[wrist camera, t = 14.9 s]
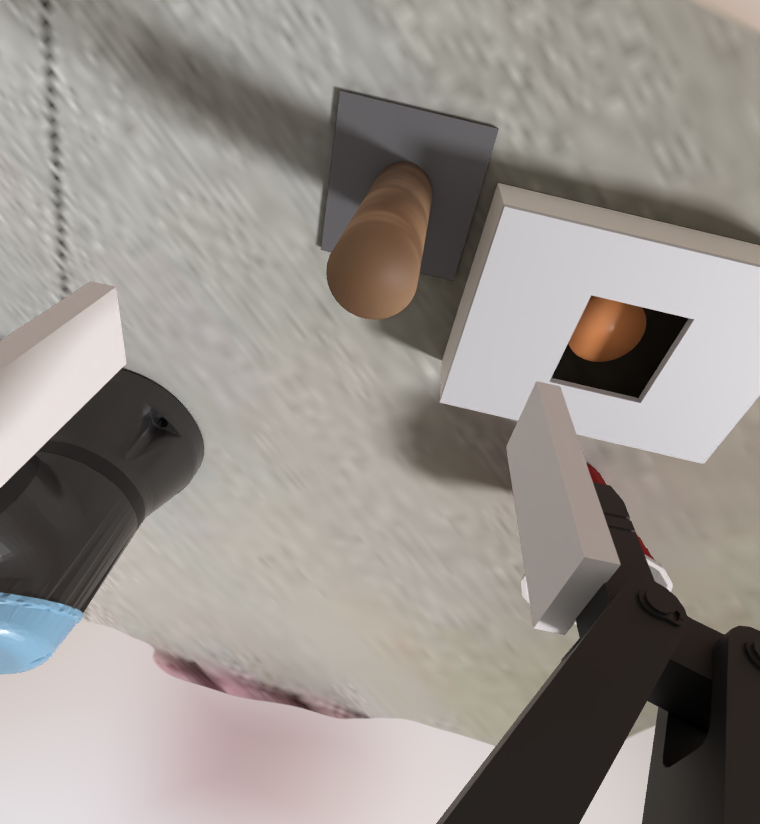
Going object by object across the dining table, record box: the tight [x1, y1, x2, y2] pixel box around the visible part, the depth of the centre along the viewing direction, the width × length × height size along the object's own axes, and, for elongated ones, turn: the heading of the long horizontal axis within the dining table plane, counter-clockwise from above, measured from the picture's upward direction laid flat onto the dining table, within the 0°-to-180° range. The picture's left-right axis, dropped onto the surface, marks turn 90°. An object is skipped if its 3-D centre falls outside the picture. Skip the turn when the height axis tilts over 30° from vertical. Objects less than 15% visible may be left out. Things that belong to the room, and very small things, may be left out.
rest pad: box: [321, 91, 498, 281], centre depth 34 cm, size 10×10×1 cm
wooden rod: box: [327, 161, 433, 320], centre depth 27 cm, size 4×4×15 cm
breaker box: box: [440, 183, 760, 464], centre depth 35 cm, size 20×14×6 cm
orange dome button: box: [568, 295, 646, 362], centre depth 36 cm, size 5×5×2 cm
